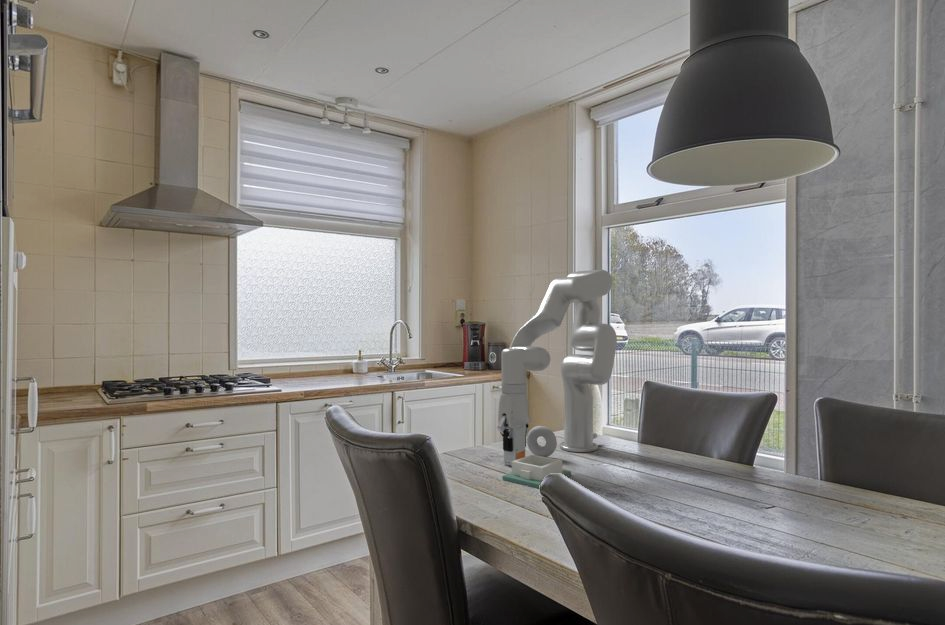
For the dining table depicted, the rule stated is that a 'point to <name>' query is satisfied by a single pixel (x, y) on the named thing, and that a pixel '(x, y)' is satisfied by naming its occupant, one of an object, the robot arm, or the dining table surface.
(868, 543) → the dining table surface
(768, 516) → the dining table surface
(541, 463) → the board
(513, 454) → the skincare box
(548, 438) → the donut
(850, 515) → the dining table surface
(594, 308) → the robot arm
